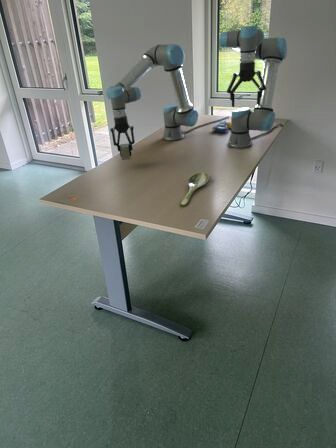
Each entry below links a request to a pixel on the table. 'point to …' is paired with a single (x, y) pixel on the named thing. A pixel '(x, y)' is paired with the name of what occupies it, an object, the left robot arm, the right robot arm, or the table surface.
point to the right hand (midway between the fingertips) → (245, 105)
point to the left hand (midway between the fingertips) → (126, 155)
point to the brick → (125, 151)
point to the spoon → (195, 184)
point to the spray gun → (222, 126)
